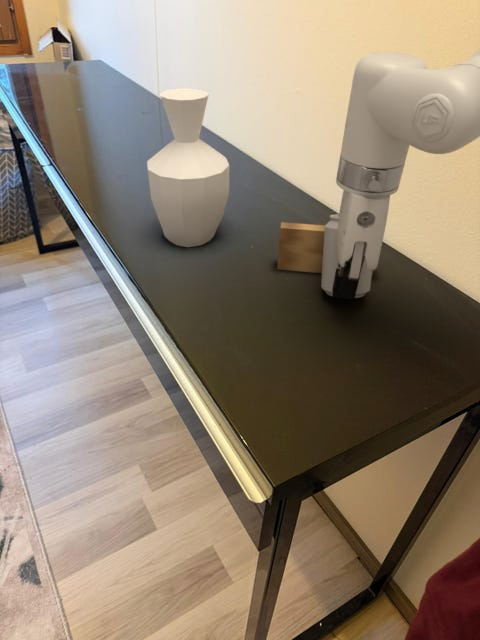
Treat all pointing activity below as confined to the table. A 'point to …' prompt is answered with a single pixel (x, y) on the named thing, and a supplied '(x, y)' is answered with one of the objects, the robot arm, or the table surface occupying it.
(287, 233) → the wooden board
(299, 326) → the table surface
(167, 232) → the vase
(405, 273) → the table surface
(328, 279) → the can
